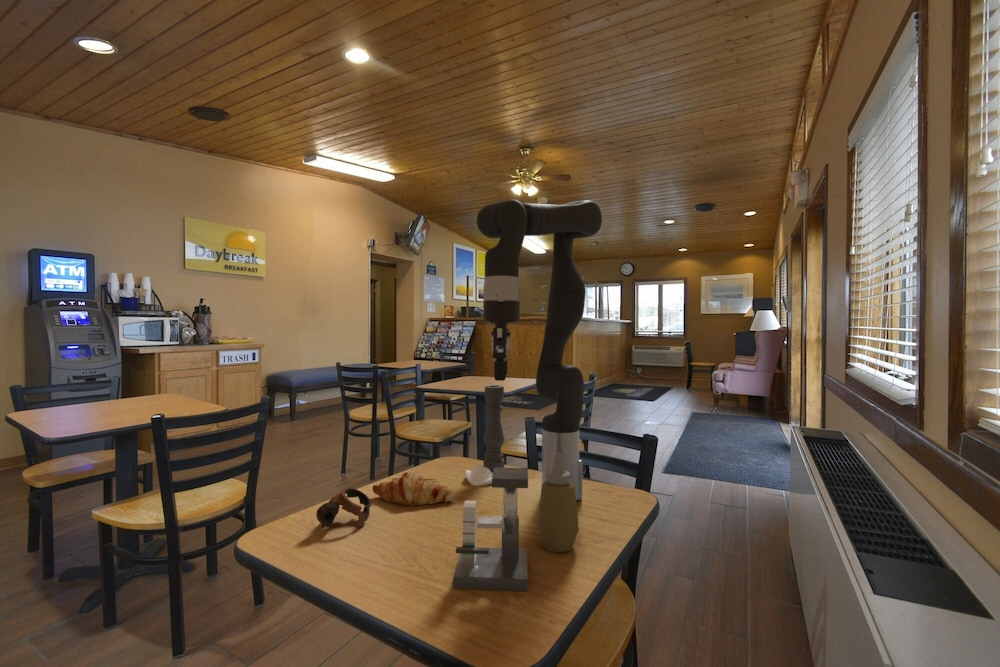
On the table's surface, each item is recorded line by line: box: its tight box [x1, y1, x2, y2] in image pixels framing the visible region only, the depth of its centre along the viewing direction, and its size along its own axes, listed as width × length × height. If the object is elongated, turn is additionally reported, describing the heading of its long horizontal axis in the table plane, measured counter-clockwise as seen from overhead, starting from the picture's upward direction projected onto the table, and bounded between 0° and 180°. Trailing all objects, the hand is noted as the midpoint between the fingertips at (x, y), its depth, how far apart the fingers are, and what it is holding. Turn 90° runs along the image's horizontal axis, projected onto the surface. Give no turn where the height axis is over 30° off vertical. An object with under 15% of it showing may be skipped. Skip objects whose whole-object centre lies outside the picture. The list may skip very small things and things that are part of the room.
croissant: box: [372, 471, 456, 507], centre depth 113 cm, size 21×10×8 cm, turn 83°
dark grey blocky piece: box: [476, 467, 529, 534], centre depth 79 cm, size 8×6×10 cm
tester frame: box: [453, 500, 529, 592], centre depth 79 cm, size 12×10×12 cm
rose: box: [464, 464, 493, 487], centre depth 128 cm, size 10×4×10 cm
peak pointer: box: [455, 546, 490, 554], centre depth 77 cm, size 6×1×1 cm, turn 87°
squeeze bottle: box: [537, 453, 580, 553], centre depth 90 cm, size 8×8×18 cm
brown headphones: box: [315, 487, 372, 529], centre depth 98 cm, size 12×10×8 cm
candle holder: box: [482, 384, 505, 473], centre depth 136 cm, size 6×6×25 cm
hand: (501, 377), depth 95 cm, fingers open, 8 cm apart
